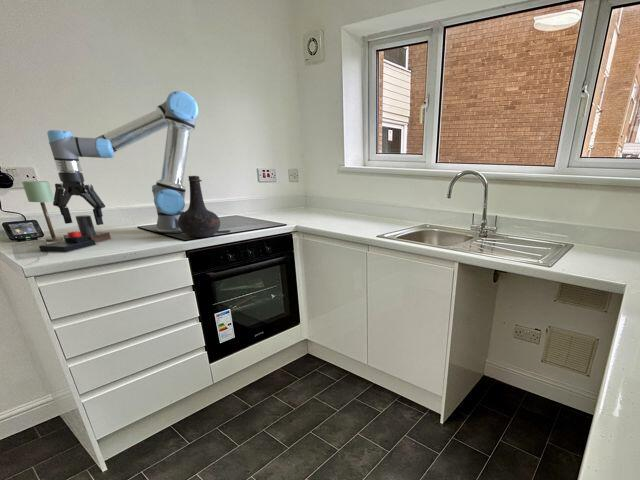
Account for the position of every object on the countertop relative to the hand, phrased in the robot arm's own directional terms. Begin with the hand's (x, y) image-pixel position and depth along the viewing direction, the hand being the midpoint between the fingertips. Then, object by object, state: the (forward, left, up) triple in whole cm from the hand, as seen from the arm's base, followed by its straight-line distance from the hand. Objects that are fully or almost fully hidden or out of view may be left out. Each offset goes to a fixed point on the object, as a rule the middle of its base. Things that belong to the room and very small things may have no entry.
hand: (84, 223), depth 151 cm
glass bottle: (-39, -19, -8) cm, 44 cm away
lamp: (-2, +17, -4) cm, 18 cm away
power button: (-2, +8, -4) cm, 10 cm away
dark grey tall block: (0, 0, -5) cm, 5 cm away
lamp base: (-2, +12, -8) cm, 15 cm away
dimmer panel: (+2, -2, -8) cm, 8 cm away
